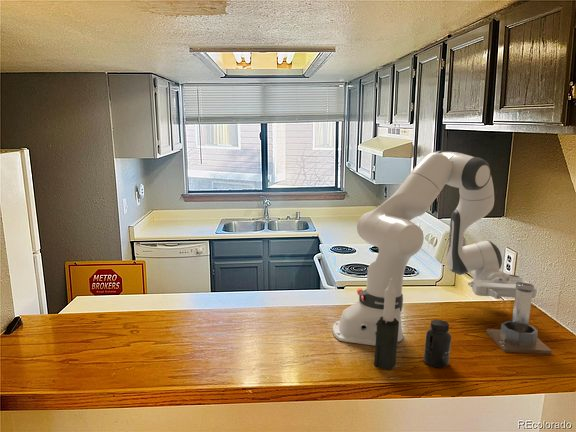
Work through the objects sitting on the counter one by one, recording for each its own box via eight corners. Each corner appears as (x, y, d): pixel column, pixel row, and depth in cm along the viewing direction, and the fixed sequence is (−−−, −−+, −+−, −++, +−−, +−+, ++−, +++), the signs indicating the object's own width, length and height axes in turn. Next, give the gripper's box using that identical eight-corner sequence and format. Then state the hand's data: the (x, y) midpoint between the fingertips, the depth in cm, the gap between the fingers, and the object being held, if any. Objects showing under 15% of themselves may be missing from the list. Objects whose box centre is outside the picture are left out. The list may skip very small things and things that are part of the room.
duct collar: (504, 351, 137) (506, 335, 136) (486, 332, 150) (488, 317, 150) (551, 354, 136) (554, 338, 135) (529, 334, 150) (531, 319, 149)
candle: (396, 363, 127) (403, 278, 123) (390, 371, 123) (397, 283, 118) (379, 358, 130) (385, 274, 125) (372, 365, 125) (379, 279, 121)
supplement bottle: (450, 369, 125) (454, 329, 123) (424, 366, 126) (428, 326, 124) (446, 358, 131) (450, 319, 129) (422, 355, 133) (426, 316, 130)
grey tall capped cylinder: (513, 342, 141) (520, 286, 138) (506, 335, 146) (513, 281, 143) (529, 343, 141) (537, 287, 137) (522, 336, 145) (529, 282, 142)
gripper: (467, 273, 161) (481, 286, 148) (525, 276, 160) (545, 289, 147) (465, 290, 162) (479, 304, 149) (523, 293, 162) (543, 307, 148)
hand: (513, 297), depth 148 cm, fingers open, 8 cm apart
